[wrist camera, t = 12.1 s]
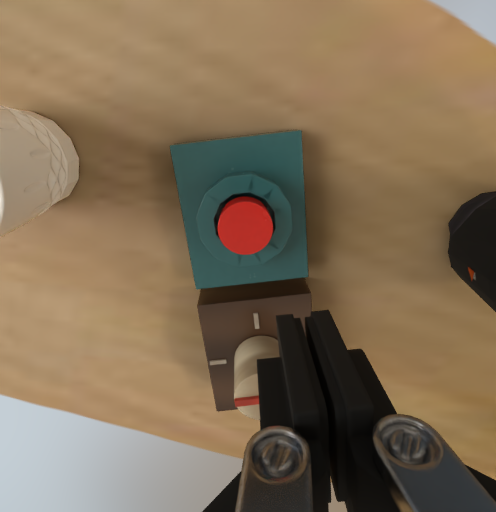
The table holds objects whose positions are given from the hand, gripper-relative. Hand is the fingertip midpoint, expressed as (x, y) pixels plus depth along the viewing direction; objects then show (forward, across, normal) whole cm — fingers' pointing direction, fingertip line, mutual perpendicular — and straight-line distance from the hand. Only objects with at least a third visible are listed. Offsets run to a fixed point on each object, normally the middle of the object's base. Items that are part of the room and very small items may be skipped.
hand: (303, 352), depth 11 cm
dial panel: (+18, +2, +11) cm, 21 cm away
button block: (+18, +2, -1) cm, 18 cm away
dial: (+15, +2, +11) cm, 18 cm away
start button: (+14, +2, -1) cm, 14 cm away
